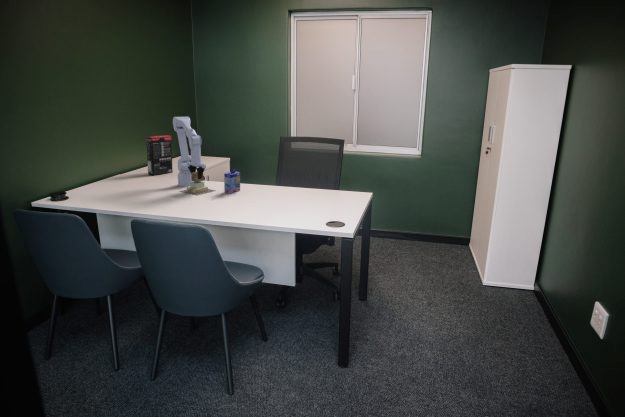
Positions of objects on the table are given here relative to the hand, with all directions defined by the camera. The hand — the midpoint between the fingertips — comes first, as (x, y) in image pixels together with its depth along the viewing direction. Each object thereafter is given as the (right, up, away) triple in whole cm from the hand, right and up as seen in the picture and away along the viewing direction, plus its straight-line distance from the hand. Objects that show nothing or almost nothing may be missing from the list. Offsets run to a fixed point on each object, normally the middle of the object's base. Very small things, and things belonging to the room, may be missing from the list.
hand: (196, 178), depth 271 cm
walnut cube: (0, -1, +1) cm, 2 cm away
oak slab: (0, -8, +2) cm, 8 cm away
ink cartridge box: (+21, -8, +4) cm, 23 cm away
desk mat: (0, -8, +2) cm, 8 cm away
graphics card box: (-39, +7, +51) cm, 65 cm away
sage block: (0, -5, +1) cm, 6 cm away
